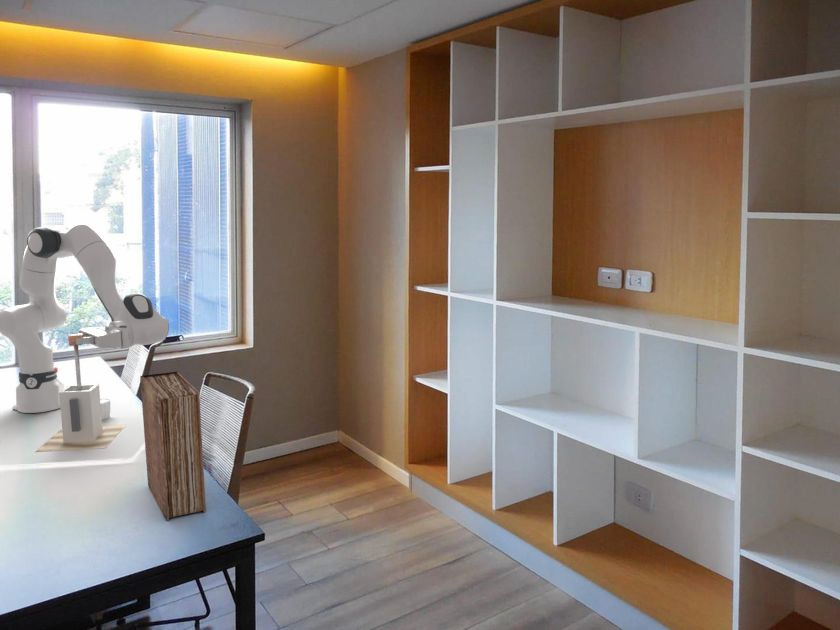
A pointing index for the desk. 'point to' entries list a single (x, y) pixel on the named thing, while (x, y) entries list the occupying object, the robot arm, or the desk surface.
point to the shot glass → (105, 408)
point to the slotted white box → (80, 413)
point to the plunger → (76, 357)
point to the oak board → (99, 443)
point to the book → (173, 443)
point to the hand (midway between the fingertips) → (72, 340)
